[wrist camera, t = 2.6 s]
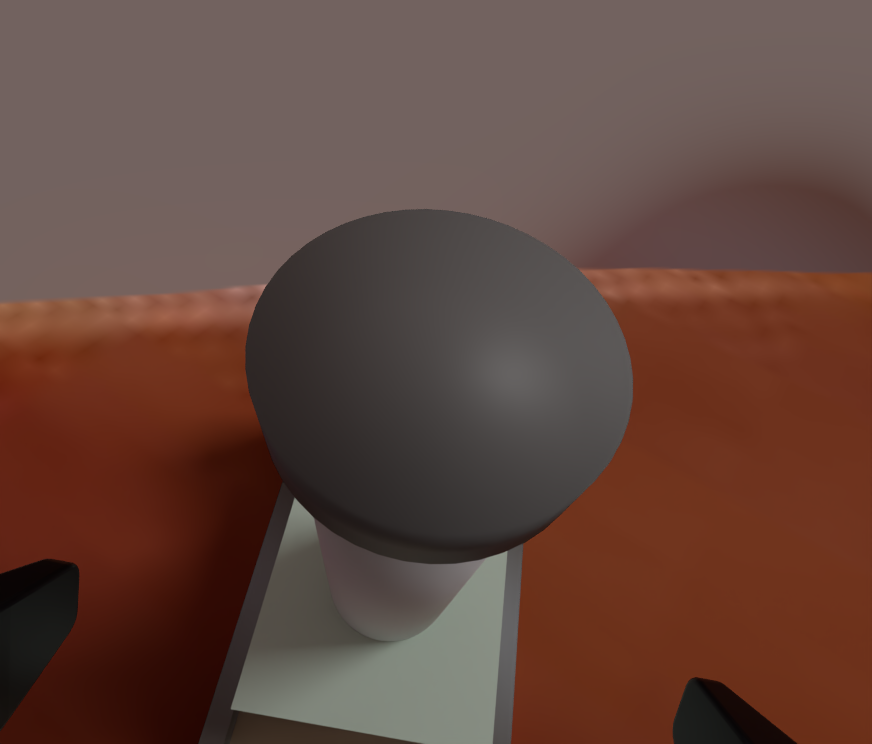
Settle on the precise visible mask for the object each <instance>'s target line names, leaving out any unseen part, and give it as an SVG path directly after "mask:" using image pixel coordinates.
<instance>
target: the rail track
mask: <svg viewBox="0 0 872 744" xmlns="http://www.w3.org/2000/svg"><path fill="white" fill-rule="evenodd" d="M294 499H295V497H294V496H293V494H292V493H291V492H290V490H289V489H288V487H287V486H286V485H285V483H284V482H282V485H281V488H280V491H279V495H278V498H277V501H276V504H275V507H274V510H273V513H272V516H271V519H270V522H269V526H268V529H267V532H266V535H265V538H264V541H263V544H262V547H261V550H260V554H259V557H258V560H257V563H256V566H255V569H254V572H253V575H252V578H251V581H250V585H249V588H248V591H247V594H246V597H245V600H244V603H243V606H242V609H241V613H240V616H239V619H238V622H237V625H236V628H235V631H234V634H233V637H232V641H231V644H230V647H229V650H228V653H227V656H226V659H225V662H224V665H223V668H222V672H221V675H220V678H219V681H218V684H217V687H216V690H215V693H214V696H213V700H212V703H211V706H210V709H209V712H208V715H207V718H206V721H205V724H204V727H203V731H202V734H201V737H200V740H199V743H198V744H423V743H417V742H411V741H406V740H400V739H395V738H389V737H383V736H378V735H372V734H367V733H361V732H355V731H350V730H344V729H339V728H333V727H328V726H322V725H316V724H311V723H305V722H300V721H294V720H288V719H283V718H277V717H272V716H266V715H261V714H255V713H249V712H244V711H238V710H233V709H231V706H232V703H233V699H234V696H235V693H236V690H237V686H238V683H239V680H240V676H241V673H242V670H243V667H244V663H245V660H246V657H247V653H248V650H249V647H250V644H251V640H252V637H253V634H254V630H255V627H256V624H257V620H258V617H259V614H260V611H261V607H262V604H263V601H264V597H265V594H266V591H267V588H268V584H269V581H270V578H271V574H272V571H273V568H274V565H275V561H276V558H277V555H278V551H279V548H280V545H281V541H282V538H283V535H284V532H285V528H286V525H287V522H288V518H289V515H290V512H291V509H292V505H293V502H294ZM522 554H523V544H521V545H519V546H517V547H515V548H512V549H510V550H508V551H507V564H506V577H505V590H504V603H503V616H502V629H501V642H500V655H499V668H498V681H497V694H496V707H495V720H494V733H493V744H511V731H512V715H513V699H514V683H515V667H516V651H517V635H518V618H519V602H520V586H521V570H522Z"/></svg>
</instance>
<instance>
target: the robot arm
mask: <svg viewBox="0 0 872 744" xmlns="http://www.w3.org/2000/svg"><path fill="white" fill-rule="evenodd" d="M78 591H79V569H78V567H77V565H75V564H74V563H71V562H66V561H60V560H55V559H44V560H40V561H37V562H34V563H31V564H28V565H25V566H22V567H19V568H16V569H13V570H10V571H7V572H4V573H1V574H0V731H1V729H2V728H3V727H4V725H5V724H6V722H7V721H8V720H9V718H10V717H11V715H12V714H13V713H14V711H15V710H16V708H17V707H18V705H19V704H20V703H21V701H22V700H23V698H24V697H25V695H26V694H27V693H28V691H29V690H30V688H31V687H32V685H33V684H34V683H35V681H36V680H37V678H38V677H39V675H40V674H41V673H42V671H43V670H44V668H45V667H46V665H47V664H48V663H49V661H50V660H51V658H52V657H53V655H54V654H55V653H56V651H57V650H58V648H59V647H60V645H61V644H62V642H63V641H64V640H65V638H66V637H67V635H68V634H69V632H70V631H71V629H72V627H73V625H74V623H75V620H76V616H77V610H78ZM673 739H674V744H797V743H796V742H795V741H793V740H792V739H791V738H790V737H788V736H787V735H786V734H785V733H783V732H782V731H781V730H780V729H779V728H777V727H776V726H775V725H774V724H772V723H771V722H770V721H769V720H767V719H766V718H765V717H764V716H762V715H761V714H760V713H759V712H758V711H756V710H755V709H754V708H753V707H751V706H750V705H749V704H748V703H746V702H745V701H744V700H743V699H741V698H740V697H739V696H738V695H736V694H735V693H734V692H733V691H732V690H730V689H729V688H728V687H727V686H725V685H724V684H723V683H721V682H718V681H714V680H708V679H703V678H697V677H695V678H692V679H690V680H689V681H688V683H687V685H686V687H685V690H684V693H683V696H682V699H681V702H680V705H679V708H678V710H677V713H676V716H675V719H674V723H673Z"/></svg>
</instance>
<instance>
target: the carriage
mask: <svg viewBox="0 0 872 744" xmlns="http://www.w3.org/2000/svg"><path fill="white" fill-rule="evenodd" d="M246 375H247V382H248V388H249V393H250V396H251V399H252V402H253V405H254V408H255V411H256V414H257V417H258V420H259V423H260V426H261V429H262V432H263V435H264V438H265V440H266V443H267V446H268V449H269V452H270V455H271V458H272V461H273V463H274V465H275V467H276V469H277V471H278V473H279V475H280V476H281V478H282V480H283V482H284V483H285V485H286V486H287V487H288V489H289V490H290V492H291V493H292V494H293V496H294V497H295V499H294V502H293V505H292V509H291V512H290V515H289V518H288V522H287V525H286V528H285V532H284V535H283V538H282V541H281V545H280V548H279V551H278V555H277V558H276V561H275V565H274V568H273V571H272V574H271V578H270V581H269V584H268V588H267V591H266V594H265V597H264V601H263V604H262V607H261V611H260V614H259V617H258V620H257V624H256V627H255V630H254V634H253V637H252V640H251V644H250V647H249V650H248V653H247V657H246V660H245V663H244V667H243V670H242V673H241V676H240V680H239V683H238V686H237V690H236V693H235V696H234V699H233V703H232V706H231V709H233V710H238V711H244V712H249V713H255V714H261V715H266V716H272V717H277V718H283V719H288V720H294V721H300V722H305V723H311V724H316V725H322V726H328V727H333V728H339V729H344V730H350V731H355V732H361V733H367V734H372V735H378V736H383V737H389V738H395V739H400V740H406V741H411V742H417V743H423V744H493V733H494V720H495V707H496V694H497V681H498V668H499V655H500V642H501V629H502V616H503V603H504V590H505V577H506V564H507V551H508V550H510V549H512V548H515V547H517V546H519V545H521V544H523V543H525V542H527V541H528V540H530V539H531V538H533V537H534V536H535V535H537V534H538V533H540V532H541V531H543V530H544V529H545V528H547V527H548V526H549V525H550V524H551V523H552V522H553V521H554V520H555V519H556V518H557V517H559V516H560V515H561V514H562V513H563V512H564V511H565V510H566V509H567V508H568V507H569V506H570V505H571V504H572V503H573V502H574V501H575V500H576V499H577V498H578V497H579V496H580V495H581V494H582V493H583V492H584V491H585V490H586V489H587V488H588V487H589V486H590V485H591V484H592V483H593V482H594V481H595V480H596V479H597V478H598V476H599V475H600V474H601V472H602V471H603V470H604V469H605V467H606V466H607V465H608V464H609V462H610V461H611V459H612V457H613V456H614V454H615V452H616V450H617V448H618V447H619V445H620V443H621V441H622V438H623V435H624V433H625V430H626V427H627V424H628V421H629V416H630V411H631V405H632V398H633V376H632V368H631V361H630V356H629V352H628V349H627V345H626V341H625V338H624V336H623V333H622V331H621V329H620V326H619V324H618V322H617V319H616V318H615V316H614V314H613V313H612V311H611V309H610V308H609V306H608V304H607V302H606V301H605V300H604V298H603V297H602V296H601V294H600V293H599V292H598V290H597V289H596V288H595V286H594V285H593V284H592V283H591V282H590V281H589V280H588V279H587V278H586V277H585V276H584V275H583V274H582V273H581V271H580V270H579V269H577V268H576V267H575V266H574V265H572V264H571V263H570V262H569V261H568V260H567V259H566V258H564V257H563V256H562V255H560V254H559V253H557V252H556V251H555V250H553V249H552V248H550V247H549V246H547V245H546V244H544V243H542V242H540V241H539V240H537V239H535V238H534V237H532V236H530V235H528V234H526V233H524V232H522V231H519V230H517V229H515V228H513V227H510V226H508V225H505V224H502V223H499V222H496V221H493V220H491V219H487V218H483V217H479V216H475V215H471V214H466V213H460V212H453V211H445V210H430V209H418V210H401V211H392V212H384V213H380V214H375V215H371V216H367V217H363V218H360V219H357V220H354V221H351V222H348V223H345V224H343V225H340V226H338V227H336V228H334V229H332V230H330V231H327V232H325V233H324V234H322V235H320V236H319V237H317V238H315V239H314V240H312V241H311V242H309V243H308V244H306V245H305V246H304V247H302V248H301V249H300V250H299V251H297V252H296V253H295V254H294V255H292V256H291V257H290V258H289V259H288V260H287V262H285V263H284V265H283V266H282V267H281V268H280V269H279V270H278V271H277V272H276V274H275V275H274V276H273V278H272V279H271V280H270V282H269V283H268V284H267V286H266V287H265V289H264V291H263V293H262V295H261V297H260V299H259V301H258V303H257V304H256V307H255V310H254V313H253V316H252V319H251V322H250V324H249V329H248V335H247V341H246Z"/></svg>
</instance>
